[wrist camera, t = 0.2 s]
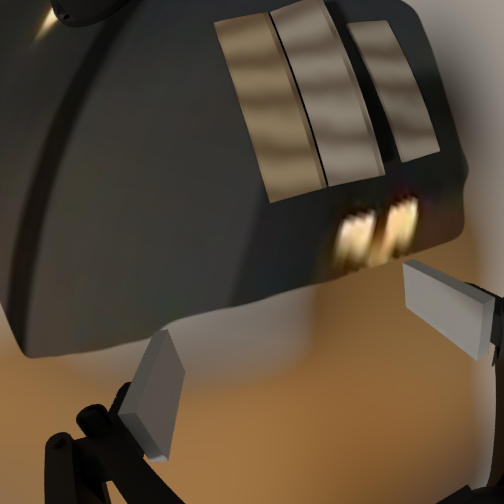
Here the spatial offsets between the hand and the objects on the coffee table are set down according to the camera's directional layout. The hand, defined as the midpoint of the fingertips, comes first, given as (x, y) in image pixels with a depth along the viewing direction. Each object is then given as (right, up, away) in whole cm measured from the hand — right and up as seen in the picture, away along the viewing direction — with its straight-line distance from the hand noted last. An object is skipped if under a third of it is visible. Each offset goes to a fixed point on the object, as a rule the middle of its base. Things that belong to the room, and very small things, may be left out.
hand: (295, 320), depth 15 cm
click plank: (+8, +26, +21) cm, 35 cm away
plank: (+20, +30, +24) cm, 43 cm away
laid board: (0, +25, +23) cm, 34 cm away
